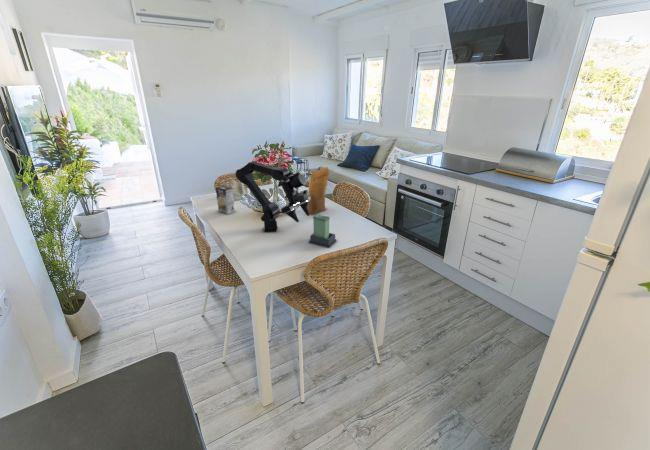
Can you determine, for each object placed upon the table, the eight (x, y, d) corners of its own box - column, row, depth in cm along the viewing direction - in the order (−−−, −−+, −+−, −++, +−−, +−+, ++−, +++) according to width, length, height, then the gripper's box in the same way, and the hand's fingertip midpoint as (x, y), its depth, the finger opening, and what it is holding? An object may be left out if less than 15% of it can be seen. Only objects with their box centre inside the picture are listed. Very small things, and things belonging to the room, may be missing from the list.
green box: (313, 240, 162) (313, 216, 157) (317, 237, 166) (317, 214, 160) (325, 243, 159) (325, 219, 154) (329, 240, 162) (329, 216, 157)
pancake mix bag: (331, 209, 208) (332, 167, 196) (311, 216, 194) (311, 172, 183) (323, 206, 212) (324, 165, 200) (303, 214, 198) (303, 170, 187)
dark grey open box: (309, 242, 162) (308, 235, 160) (316, 236, 168) (316, 229, 167) (329, 247, 157) (329, 240, 155) (336, 241, 164) (336, 234, 162)
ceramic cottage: (251, 197, 227) (248, 177, 221) (228, 202, 219) (224, 181, 214) (244, 193, 239) (241, 173, 234) (223, 197, 232) (219, 177, 226)
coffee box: (218, 211, 201) (214, 187, 195) (225, 208, 206) (223, 185, 200) (228, 214, 197) (225, 189, 190) (235, 211, 202) (233, 187, 195)
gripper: (289, 192, 149) (303, 221, 151) (311, 181, 163) (324, 208, 165) (274, 199, 156) (288, 227, 158) (297, 188, 170) (309, 214, 172)
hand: (303, 218), depth 163 cm, fingers open, 9 cm apart
